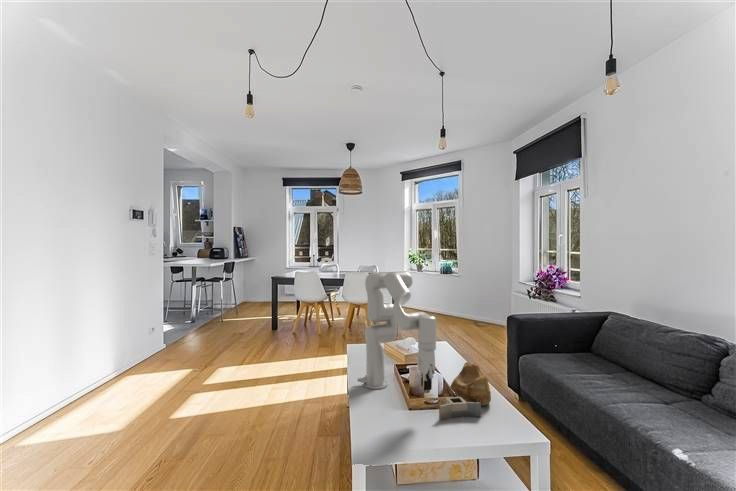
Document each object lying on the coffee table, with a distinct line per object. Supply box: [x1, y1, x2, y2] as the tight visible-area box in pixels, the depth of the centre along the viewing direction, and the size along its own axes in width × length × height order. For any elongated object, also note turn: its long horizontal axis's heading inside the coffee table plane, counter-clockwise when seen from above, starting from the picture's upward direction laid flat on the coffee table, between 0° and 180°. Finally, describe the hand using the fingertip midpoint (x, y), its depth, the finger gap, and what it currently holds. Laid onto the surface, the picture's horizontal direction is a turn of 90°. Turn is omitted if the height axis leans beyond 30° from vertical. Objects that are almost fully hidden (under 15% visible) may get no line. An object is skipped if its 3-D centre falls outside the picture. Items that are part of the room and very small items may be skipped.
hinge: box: [438, 396, 482, 421], centre depth 166 cm, size 19×8×6 cm, turn 100°
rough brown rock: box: [449, 361, 492, 407], centre depth 184 cm, size 23×17×15 cm
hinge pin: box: [422, 372, 431, 394], centre depth 163 cm, size 3×3×9 cm
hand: (426, 387), depth 163 cm, fingers closed on hinge pin, 3 cm apart
